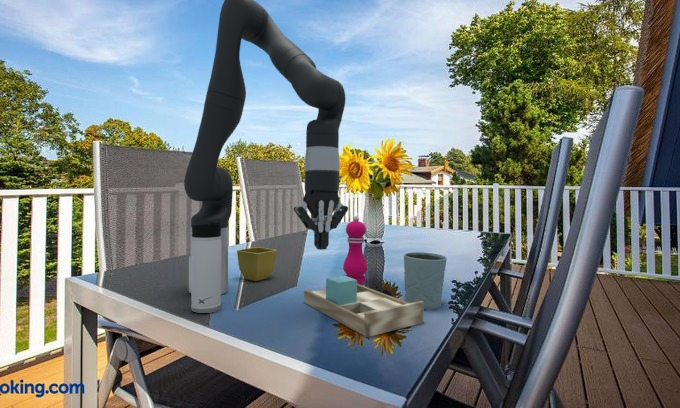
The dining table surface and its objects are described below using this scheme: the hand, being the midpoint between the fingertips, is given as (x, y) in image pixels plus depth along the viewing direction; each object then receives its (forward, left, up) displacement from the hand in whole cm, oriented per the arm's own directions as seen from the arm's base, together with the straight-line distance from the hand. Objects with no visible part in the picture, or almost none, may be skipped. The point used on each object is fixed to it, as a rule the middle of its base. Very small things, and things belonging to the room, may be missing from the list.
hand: (321, 248), depth 79 cm
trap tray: (+9, -2, -15) cm, 17 cm away
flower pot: (0, +38, -15) cm, 41 cm away
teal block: (+5, 0, -12) cm, 13 cm away
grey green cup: (+26, -6, -15) cm, 30 cm away
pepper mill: (+24, +20, -15) cm, 34 cm away
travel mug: (-20, +16, -15) cm, 30 cm away
